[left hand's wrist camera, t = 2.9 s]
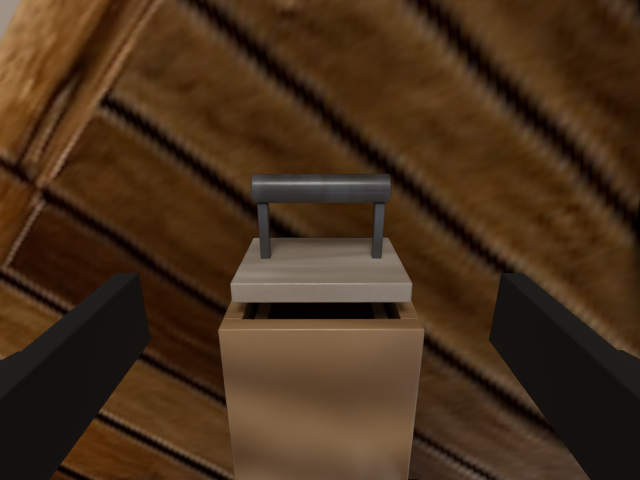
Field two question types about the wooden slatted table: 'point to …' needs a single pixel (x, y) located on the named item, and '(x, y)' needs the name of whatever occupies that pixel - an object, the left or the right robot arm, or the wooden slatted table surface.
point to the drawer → (321, 255)
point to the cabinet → (321, 394)
